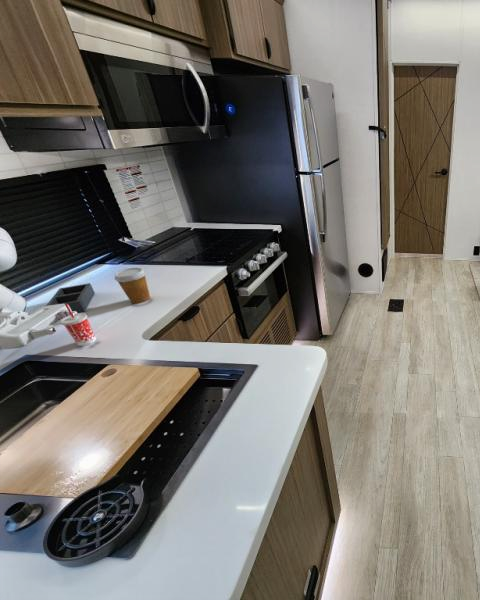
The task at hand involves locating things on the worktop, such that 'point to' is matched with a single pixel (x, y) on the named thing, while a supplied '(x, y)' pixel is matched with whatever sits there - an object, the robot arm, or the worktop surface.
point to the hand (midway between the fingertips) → (65, 322)
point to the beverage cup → (79, 328)
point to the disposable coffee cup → (133, 284)
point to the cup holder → (74, 297)
